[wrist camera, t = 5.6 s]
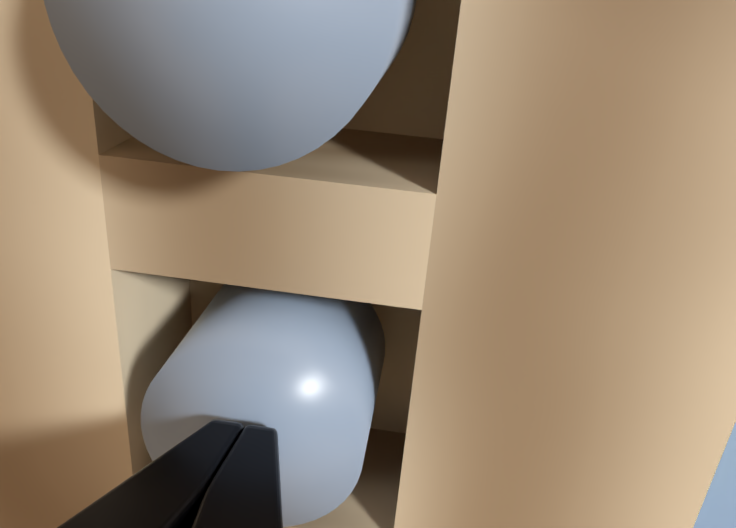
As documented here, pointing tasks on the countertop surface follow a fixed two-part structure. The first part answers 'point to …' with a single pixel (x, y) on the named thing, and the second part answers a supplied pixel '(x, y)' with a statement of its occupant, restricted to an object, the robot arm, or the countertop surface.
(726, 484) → the countertop surface
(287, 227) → the button board
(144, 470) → the robot arm
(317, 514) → the button
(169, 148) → the button middle
